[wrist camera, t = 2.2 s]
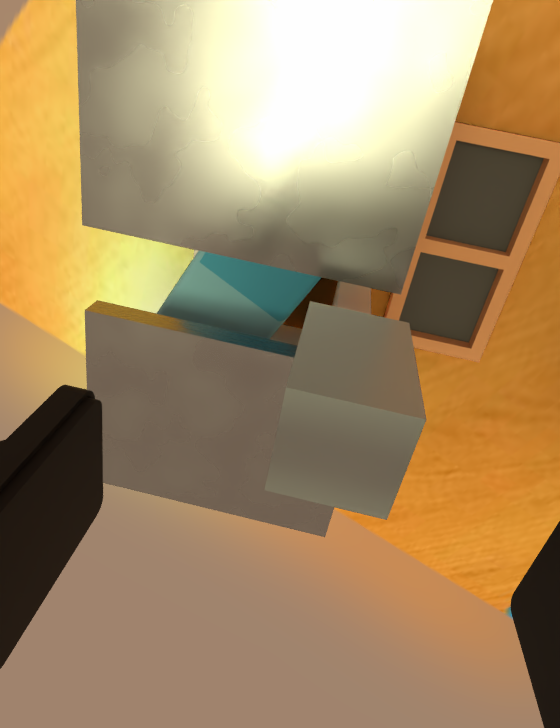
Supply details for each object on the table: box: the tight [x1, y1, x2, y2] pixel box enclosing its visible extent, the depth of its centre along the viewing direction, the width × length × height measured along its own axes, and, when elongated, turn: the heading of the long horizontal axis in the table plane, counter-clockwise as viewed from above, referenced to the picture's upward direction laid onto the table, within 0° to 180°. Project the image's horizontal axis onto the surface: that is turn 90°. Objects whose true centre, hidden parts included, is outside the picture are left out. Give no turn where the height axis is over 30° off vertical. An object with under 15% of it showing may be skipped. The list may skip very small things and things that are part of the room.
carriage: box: [194, 250, 426, 520], centre depth 21 cm, size 10×16×22 cm, turn 170°
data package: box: [157, 251, 322, 339], centre depth 25 cm, size 12×4×12 cm, turn 143°
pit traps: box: [384, 122, 560, 362], centre depth 29 cm, size 6×13×1 cm, turn 170°
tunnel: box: [76, 0, 493, 537], centre depth 24 cm, size 11×20×15 cm, turn 170°
